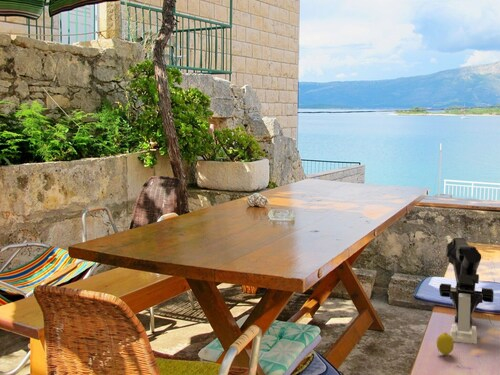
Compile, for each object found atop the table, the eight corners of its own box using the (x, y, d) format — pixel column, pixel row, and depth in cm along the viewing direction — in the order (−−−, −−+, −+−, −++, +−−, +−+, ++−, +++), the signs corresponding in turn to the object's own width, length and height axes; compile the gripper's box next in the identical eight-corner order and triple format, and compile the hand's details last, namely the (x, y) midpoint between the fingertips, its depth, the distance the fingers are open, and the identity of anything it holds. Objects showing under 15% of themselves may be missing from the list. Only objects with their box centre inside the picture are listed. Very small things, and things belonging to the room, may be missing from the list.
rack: (450, 332, 225) (451, 323, 225) (476, 335, 222) (476, 326, 222) (450, 341, 217) (450, 331, 216) (476, 344, 214) (477, 334, 213)
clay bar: (458, 326, 222) (458, 293, 220) (469, 328, 220) (470, 294, 219) (457, 330, 218) (458, 296, 216) (469, 331, 217) (470, 297, 215)
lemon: (433, 353, 206) (433, 331, 205) (446, 350, 208) (446, 328, 207) (443, 359, 201) (444, 336, 200) (456, 356, 203) (457, 334, 202)
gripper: (440, 262, 224) (435, 299, 215) (494, 267, 216) (491, 306, 207) (443, 277, 232) (438, 313, 223) (494, 282, 224) (491, 320, 215)
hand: (463, 313), depth 217 cm, fingers closed on clay bar, 4 cm apart
